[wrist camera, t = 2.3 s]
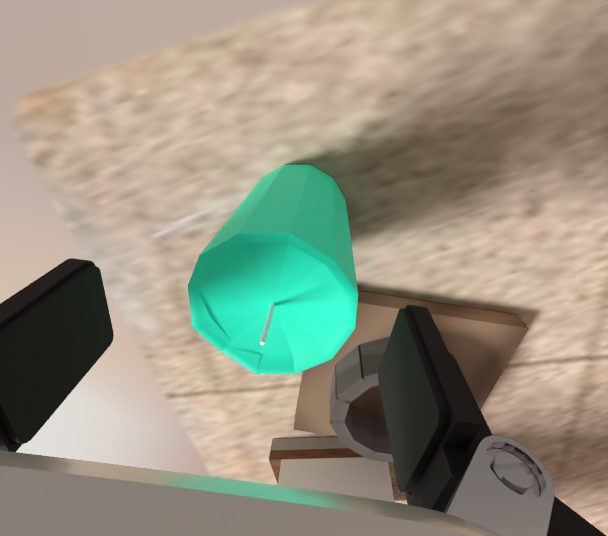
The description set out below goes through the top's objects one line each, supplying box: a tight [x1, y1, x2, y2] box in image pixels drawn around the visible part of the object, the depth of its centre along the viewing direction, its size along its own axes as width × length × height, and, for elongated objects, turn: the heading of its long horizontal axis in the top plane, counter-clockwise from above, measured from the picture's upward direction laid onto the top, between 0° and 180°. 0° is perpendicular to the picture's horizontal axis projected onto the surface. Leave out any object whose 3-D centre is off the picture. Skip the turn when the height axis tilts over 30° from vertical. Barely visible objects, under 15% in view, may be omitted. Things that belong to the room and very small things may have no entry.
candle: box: [188, 165, 358, 374], centre depth 15 cm, size 6×6×12 cm
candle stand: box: [294, 291, 528, 463], centre depth 24 cm, size 14×14×4 cm
